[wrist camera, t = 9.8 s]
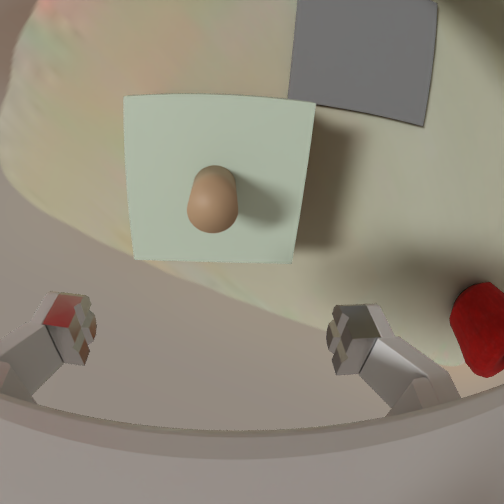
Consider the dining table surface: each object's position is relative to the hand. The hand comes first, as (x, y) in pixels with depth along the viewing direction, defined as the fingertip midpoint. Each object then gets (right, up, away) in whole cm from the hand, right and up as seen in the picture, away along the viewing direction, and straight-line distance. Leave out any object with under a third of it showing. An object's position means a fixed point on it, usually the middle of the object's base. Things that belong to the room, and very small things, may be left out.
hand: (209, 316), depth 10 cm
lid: (-1, +7, +11) cm, 13 cm away
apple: (+33, -5, +29) cm, 44 cm away
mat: (+11, +20, +11) cm, 25 cm away
